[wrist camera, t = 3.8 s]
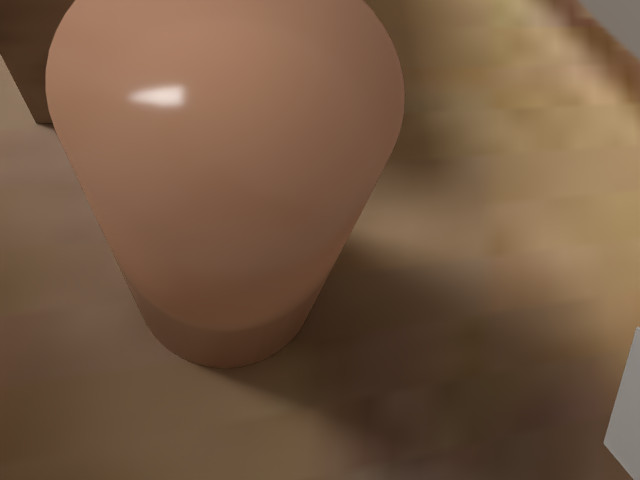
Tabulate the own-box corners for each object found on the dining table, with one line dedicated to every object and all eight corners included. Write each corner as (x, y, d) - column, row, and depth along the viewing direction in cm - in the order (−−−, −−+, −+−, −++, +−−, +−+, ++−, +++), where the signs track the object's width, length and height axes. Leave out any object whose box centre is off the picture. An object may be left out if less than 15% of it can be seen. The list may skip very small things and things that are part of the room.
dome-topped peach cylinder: (133, 374, 20) (30, 242, 9) (137, 200, 23) (58, -70, 12) (322, 362, 21) (428, 232, 10) (307, 198, 24) (382, -51, 13)
